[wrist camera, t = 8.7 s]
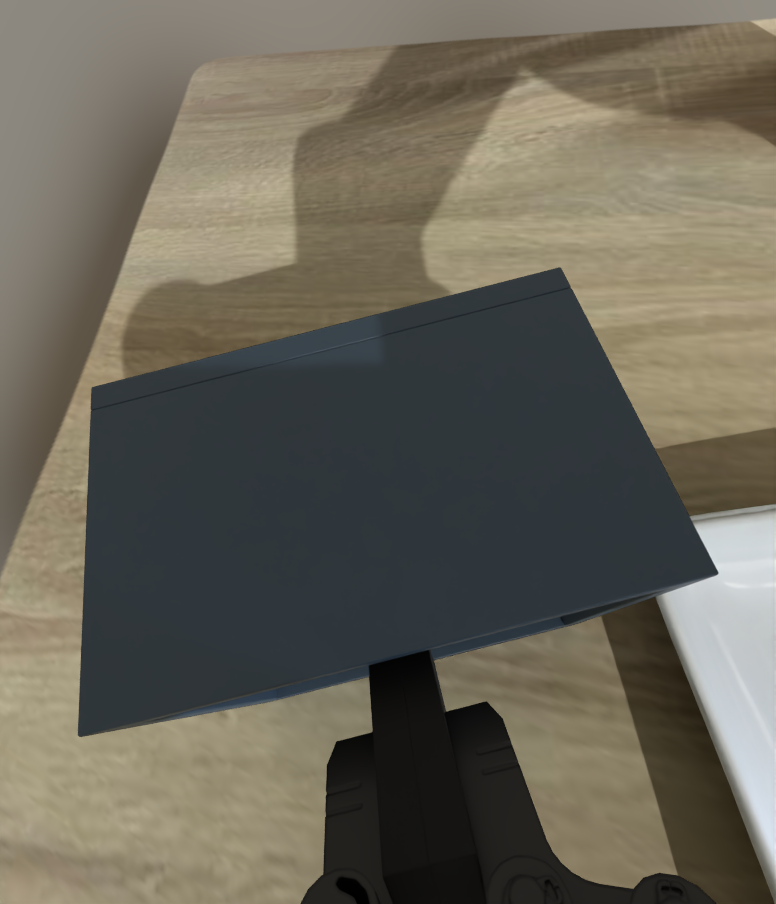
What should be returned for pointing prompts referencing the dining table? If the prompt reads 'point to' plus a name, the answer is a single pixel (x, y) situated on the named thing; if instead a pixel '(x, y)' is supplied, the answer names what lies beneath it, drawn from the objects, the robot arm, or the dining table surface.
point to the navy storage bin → (365, 504)
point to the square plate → (736, 660)
